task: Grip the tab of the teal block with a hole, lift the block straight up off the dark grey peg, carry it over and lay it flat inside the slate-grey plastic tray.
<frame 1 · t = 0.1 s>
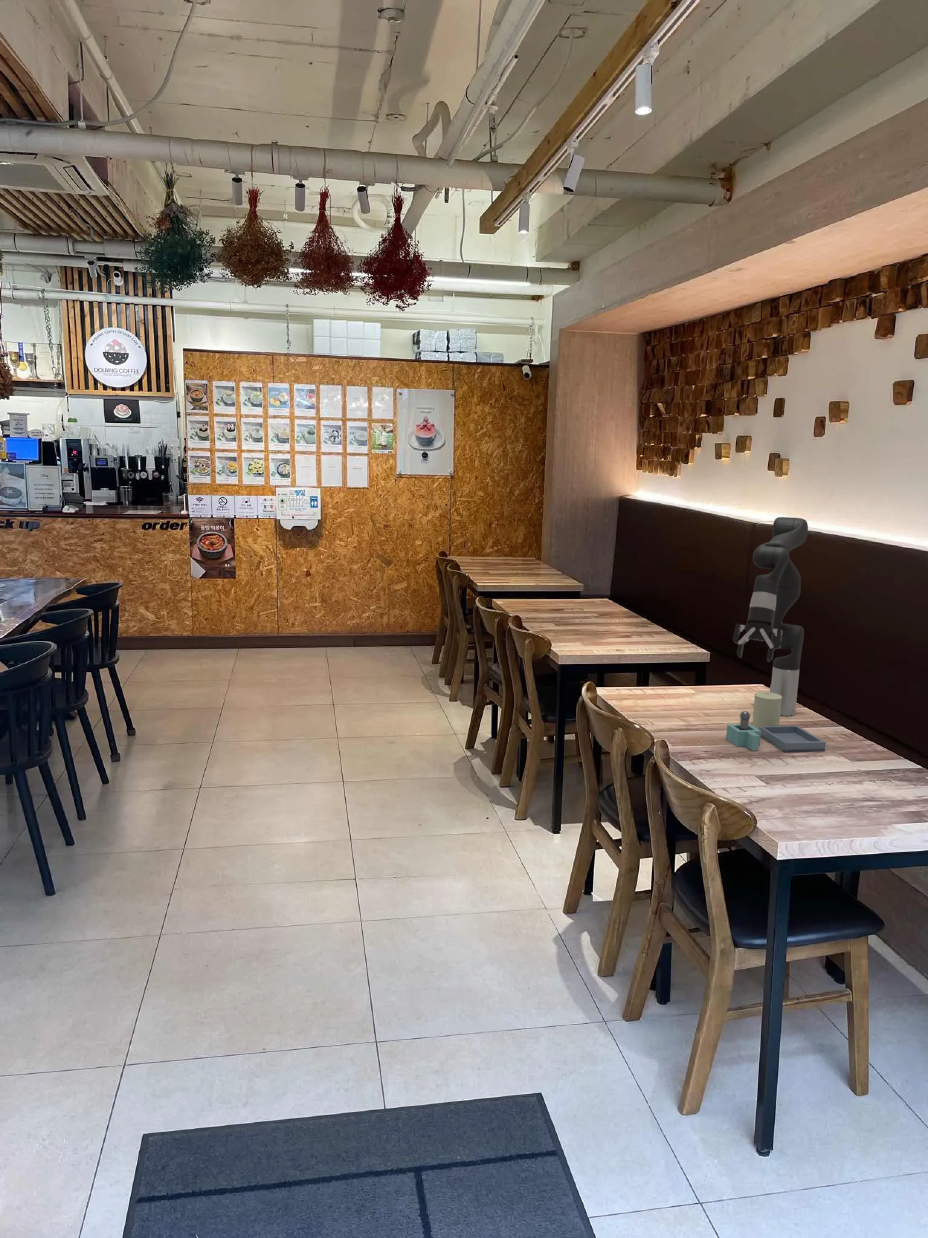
hand: (753, 659, 270), 31 cm above the table, tool tilted 20°, fingers open, 8 cm apart
tray: (790, 742, 289), on the table
teal block with hole: (742, 742, 288), on the table
dark grey peg: (742, 742, 288), on the table
can: (765, 727, 306), on the table
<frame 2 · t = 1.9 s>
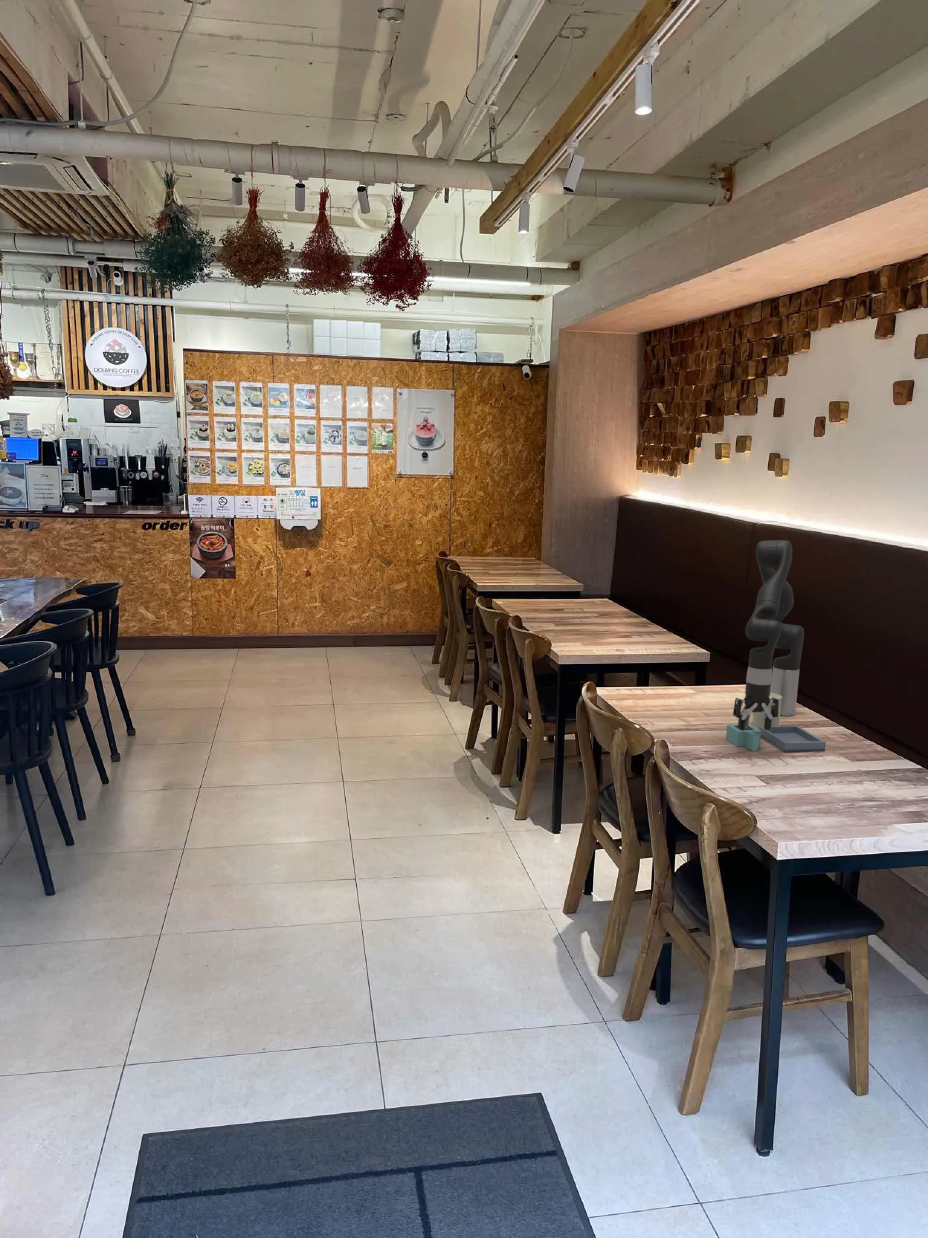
hand: (754, 729, 280), 7 cm above the table, tool pointing down, fingers open, 8 cm apart
nothing on the table moved.
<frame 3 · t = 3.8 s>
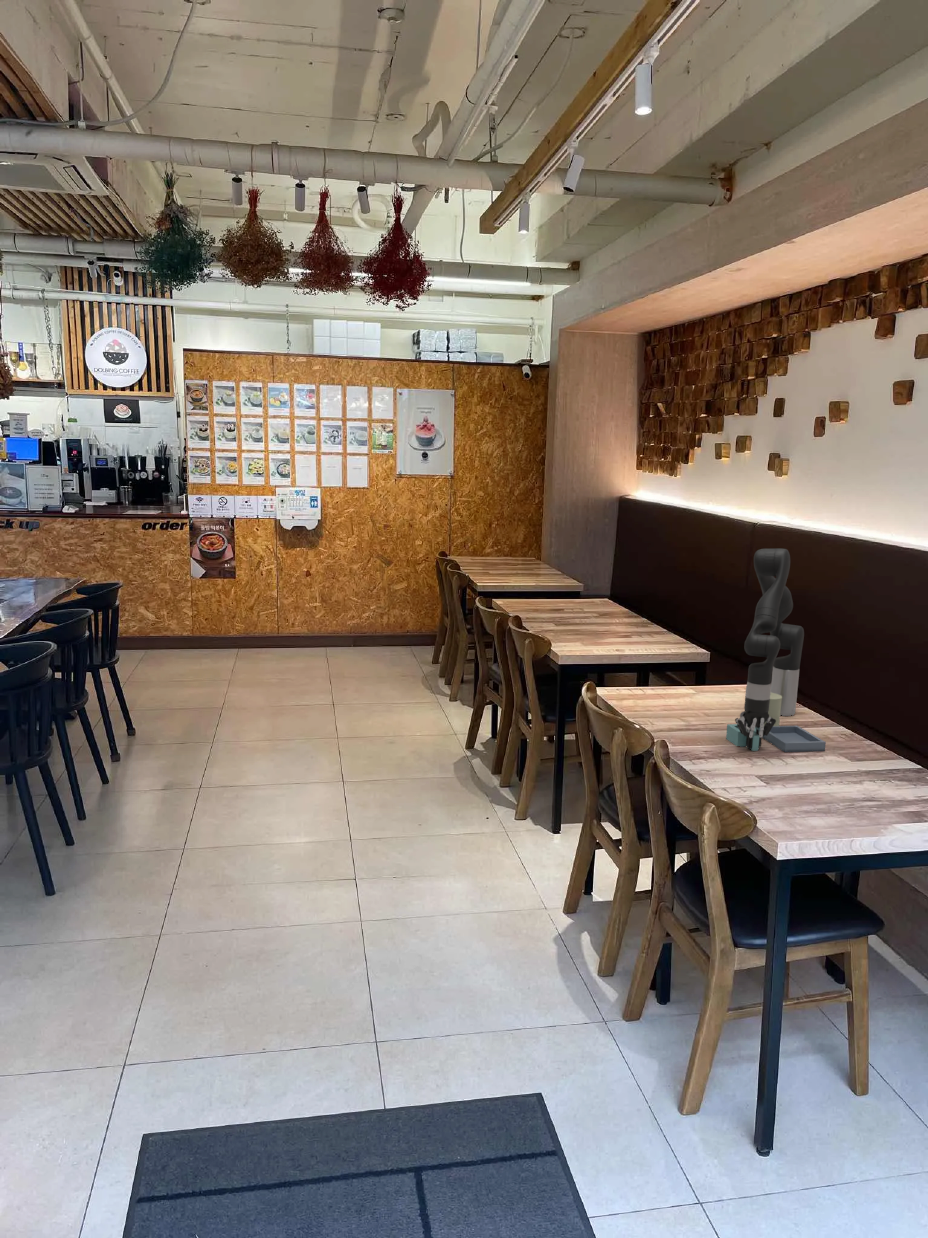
hand: (753, 747, 281), 1 cm above the table, tool pointing down, fingers closed on teal block with hole
teal block with hole: (742, 742, 288), on the table, touching gripper
everything else where it was.
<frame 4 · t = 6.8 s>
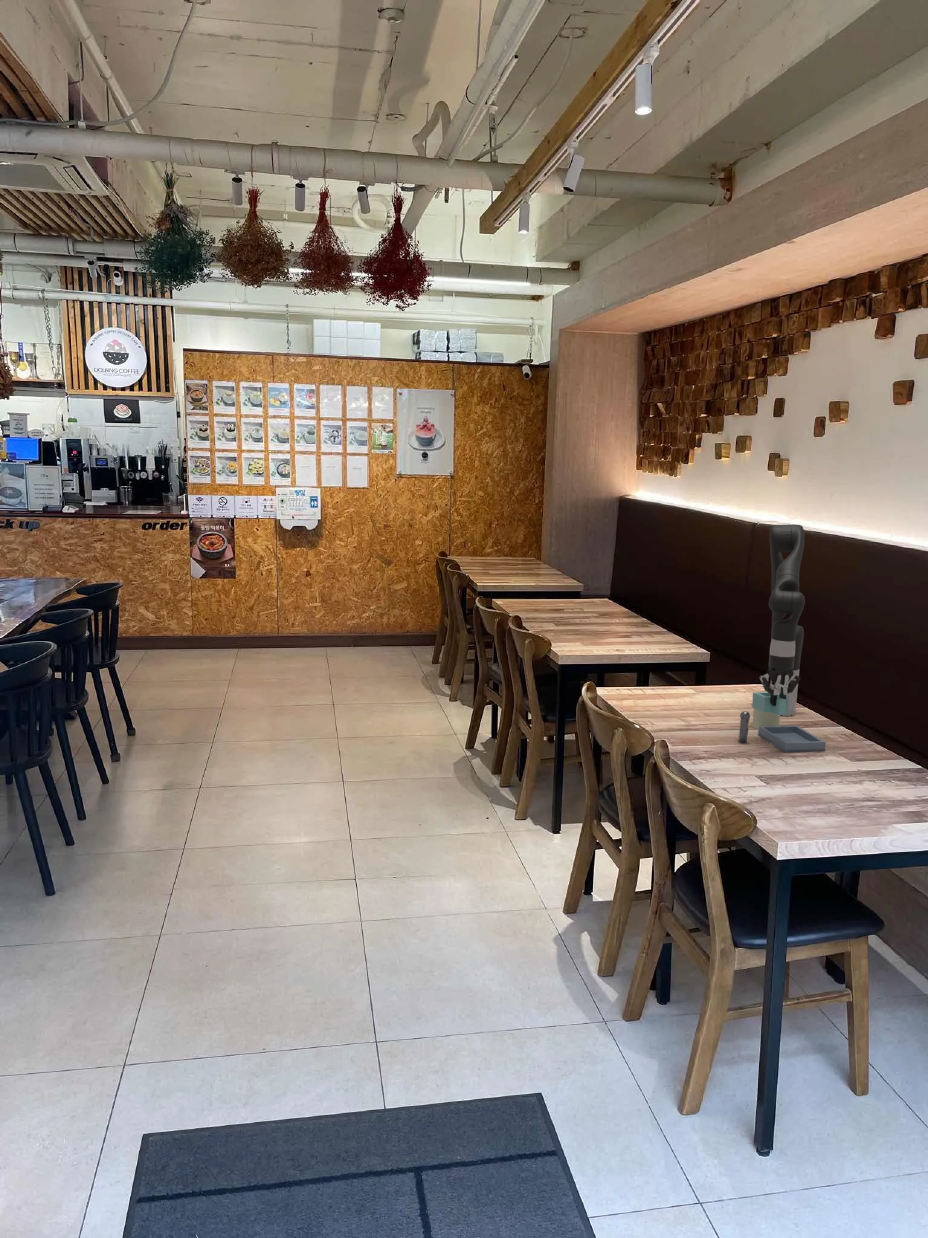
hand: (777, 705, 281), 14 cm above the table, tool pointing down, fingers closed on teal block with hole
teal block with hole: (769, 709, 286), point 11 cm above the table, touching gripper
everything else where it was.
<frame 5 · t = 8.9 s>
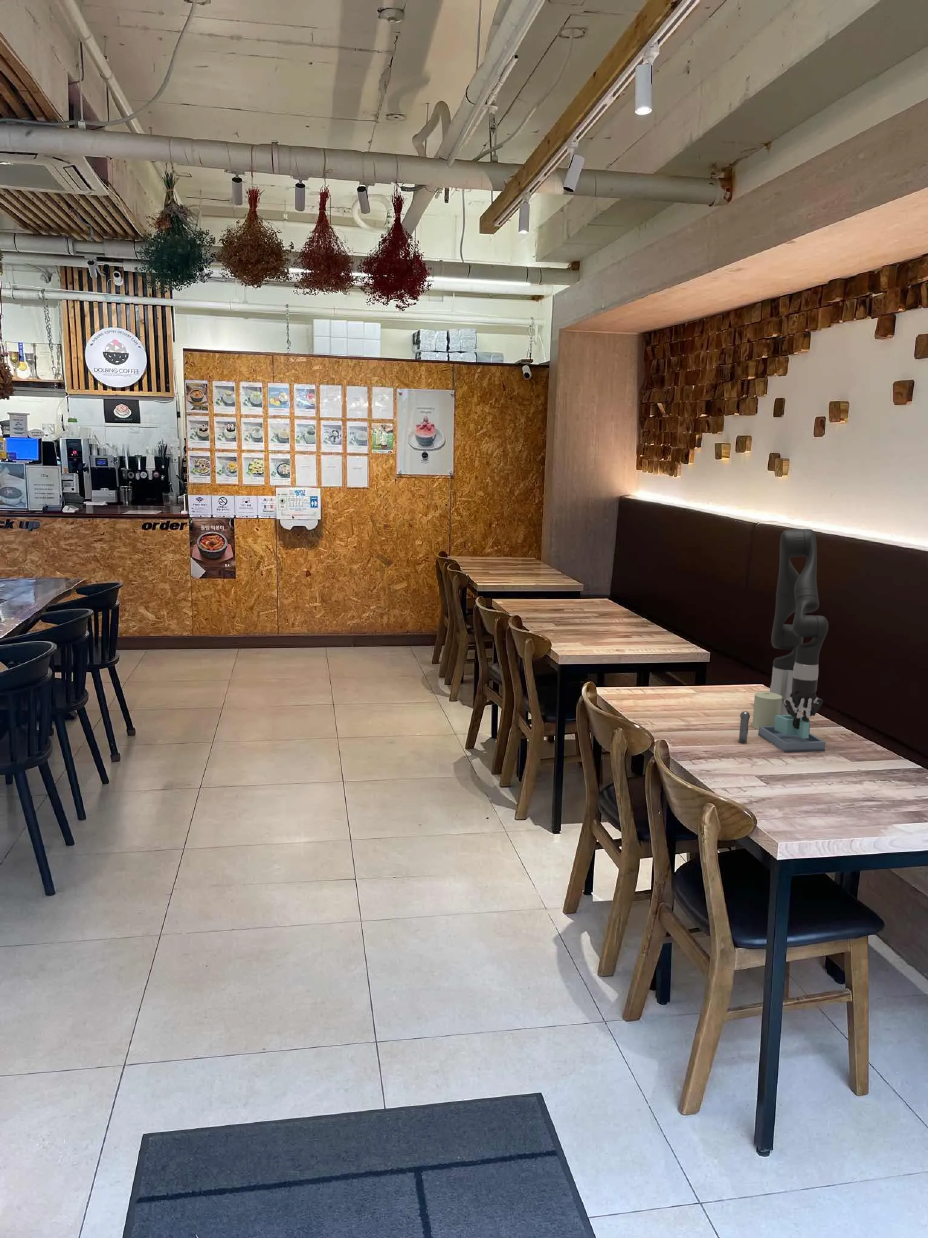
hand: (800, 728, 283), 7 cm above the table, tool pointing down, fingers closed on teal block with hole
teal block with hole: (791, 732, 288), point 4 cm above the table, tilted 5°, touching gripper
everything else where it was.
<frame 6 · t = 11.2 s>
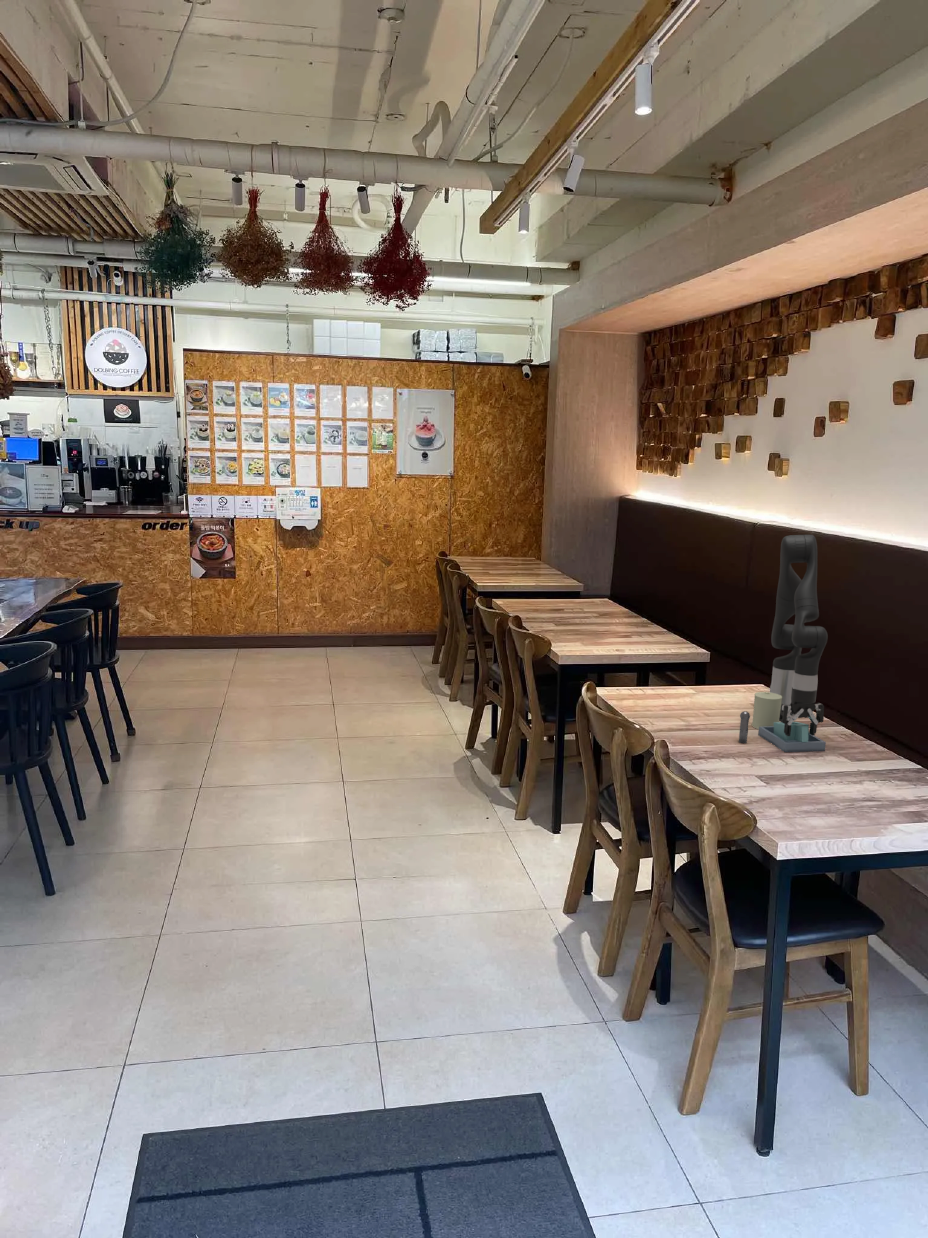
hand: (799, 735, 284), 4 cm above the table, tool pointing down, fingers open, 8 cm apart
teal block with hole: (791, 738, 289), point 2 cm above the table, tilted 11°, touching tray
everything else where it was.
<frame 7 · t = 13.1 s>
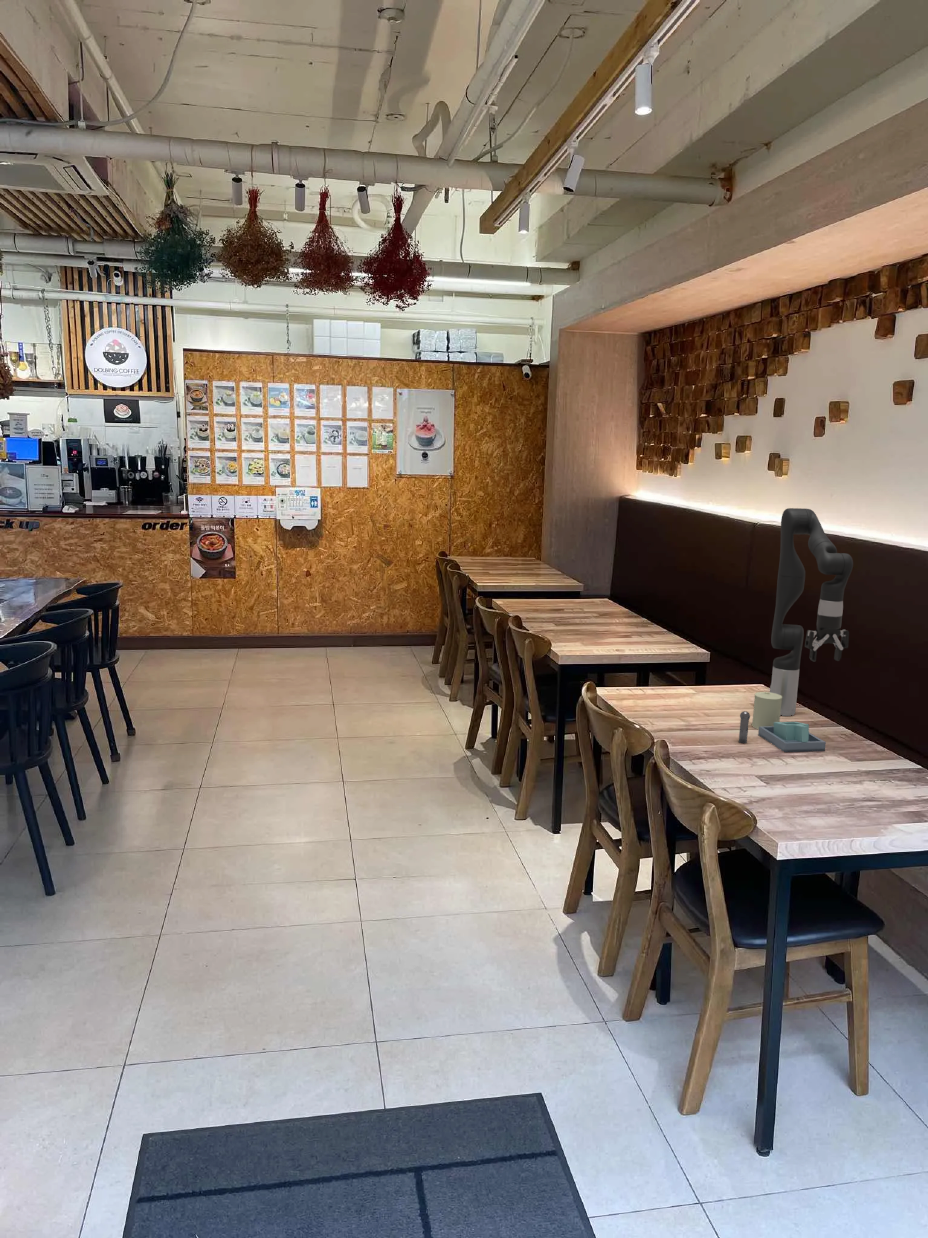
hand: (824, 660, 291), 27 cm above the table, tool pointing down, fingers open, 8 cm apart
nothing on the table moved.
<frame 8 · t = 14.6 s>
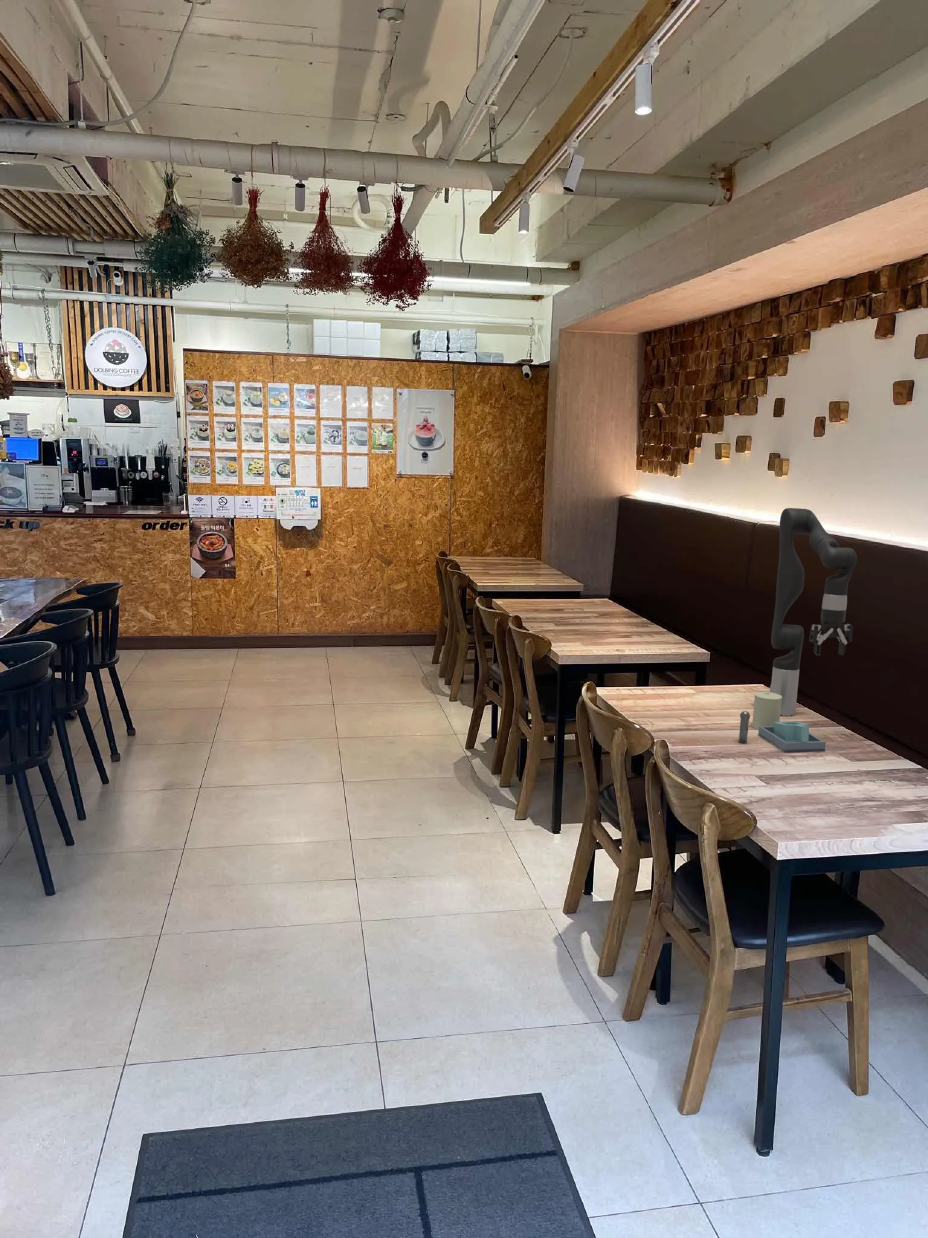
hand: (829, 654, 293), 28 cm above the table, tool pointing down, fingers open, 8 cm apart
nothing on the table moved.
at the end: teal block with hole inside the target area on the tray (1.9 cm from its centre), point 1.5 cm above the tray's base; teal block with hole tilted 11°; the gripper is holding nothing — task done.
